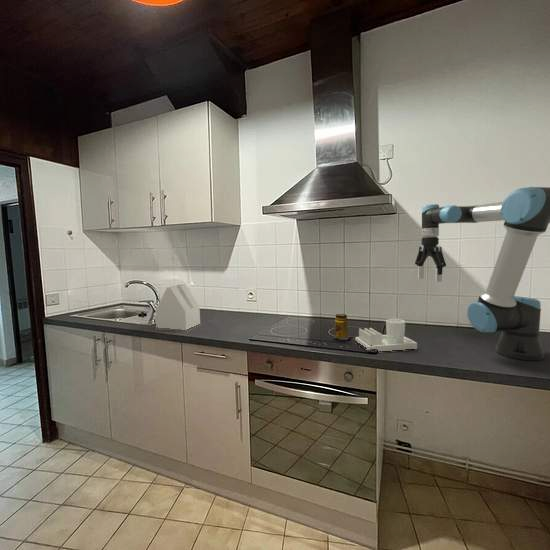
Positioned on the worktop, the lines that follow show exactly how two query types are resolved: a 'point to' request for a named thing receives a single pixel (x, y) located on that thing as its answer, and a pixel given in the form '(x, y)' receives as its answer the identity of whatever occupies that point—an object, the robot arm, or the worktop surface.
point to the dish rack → (382, 341)
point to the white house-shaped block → (177, 309)
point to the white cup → (395, 331)
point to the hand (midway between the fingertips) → (429, 280)
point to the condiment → (341, 326)
